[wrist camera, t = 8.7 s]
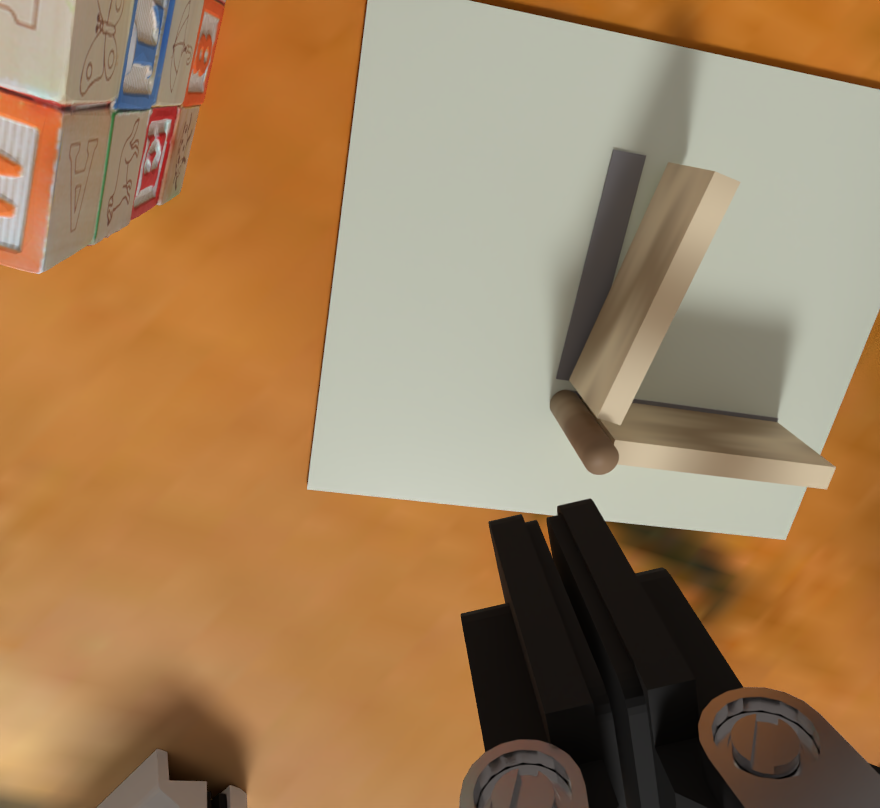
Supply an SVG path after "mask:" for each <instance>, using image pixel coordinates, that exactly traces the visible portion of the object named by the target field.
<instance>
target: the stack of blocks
mask: <svg viewBox="0 0 880 808" xmlns="http://www.w3.org/2000/svg"><path fill="white" fill-rule="evenodd" d="M225 2H226V0H0V264H1V265H4V266H8V267H11V268H15V269H18V270H22V271H27V272H32V273H37V274H40V273H42V272H44V271H46V270H49V269H50V268H52V267H53V266H55V265H56V264H58V263H60V262H61V261H63V260H65V259H66V258H68V257H70V256H72V255H73V254H75V253H76V252H78V251H79V250H81V249H82V248H84V247H85V246H91V245H95V244H96V243H98V242H100V241H101V240H102V239H103V238H104V237H105V238H108V237H109V236H110V235H111V234H113V233H114V232H118V231H119V230H120V229H122V228H123V227H125V226H127V225H128V224H129V222H130V220H132V219H134V218H136V217H138V216H140V215H141V214H143V213H145V212H146V211H148V210H149V209H151V208H153V207H154V206H155V205H162V204H164V203H166V202H168V201H169V200H171V199H172V198H174V197H175V196H176V195H178V194H179V193H180V191H181V188H182V184H183V179H184V175H185V170H186V166H187V161H188V157H189V152H190V148H191V144H192V139H193V135H194V130H195V126H196V122H197V117H198V113H199V108H200V105H201V104H202V103H203V101H204V98H205V94H206V89H207V84H208V80H209V75H210V71H211V67H212V62H213V57H214V53H215V48H216V44H217V39H218V35H219V30H220V26H221V21H222V17H223V13H224V5H225Z"/></svg>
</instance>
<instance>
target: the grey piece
mask: <svg viewBox="0 0 880 808" xmlns="http://www.w3.org/2000/svg"><path fill="white" fill-rule="evenodd" d="M97 808H247V794H246V793H245V792H244V791H243V790H242V789H240V788H237V787H235V786H232V785H230V786H228V787H227V788H226V789H225V790H224V791H223V792H221V793H219V794H218V795H217V796H215V797H214V798H213V799H212V800H211V792H208V791H207V781H170V780H169V770H168V754H167V752H166V751H163V750H160V749H156V750H155V751H154V752H153V753H152V754H151V755H150V756H149V757H148V758H147V759H146V760H145V761H144V762H143V763H142V764H141V765H140V766H139V767H138V768H137V769H136V770H135V771H134V772H133V773H132V774H131V775H130V776H129V777H127V778H126V779H125V780H124V781H123V782H122V783H121V784H120V785H119V786H118V787H117V788H116V789H115V790H114V791H113V792H112V793H111V794H110V795H109V796H108V797H107V798H106V799H105V800H104V801H103V802H102V803H101V804H100V805H99V806H98V807H97Z"/></svg>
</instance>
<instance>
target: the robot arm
mask: <svg viewBox="0 0 880 808" xmlns="http://www.w3.org/2000/svg"><path fill="white" fill-rule="evenodd" d="M547 527H548V533H549V539H550V545H551V550H552V556H553V558H552V556H551V553H550V551H549V548H548V546H547V543H546V541H545V538H544V536H543V534H542V531H541V529H540V526H539V524H538V522H537V520H534V521H530V522H525V521H524V519H523V516H522V515H521V514H520V515H515V516H511V517H507V518H502V519H498V520H493V521H489V528H490V533H491V538H492V543H493V547H494V552H495V557H496V561H497V566H498V571H499V576H500V580H501V585H502V590H503V594H504V599H505V604H501V605H497V606H493V607H488V608H484V609H480V610H475V611H471V612H467V613H462V614H461V620H462V626H463V632H464V637H465V643H466V648H467V653H468V659H469V664H470V670H471V675H472V681H473V686H474V692H475V697H476V703H477V708H478V714H479V719H480V725H481V730H482V736H483V741H484V747H485V753H484V754H483V755H482V756H481V757H480V758H479V759H478V760H477V761H476V762H475V763H474V764H472V766H471V768H470V769H469V771H468V773H467V775H466V776H465V778H464V780H463V784H462V789H461V794H460V806H459V808H880V767H877V766H875V765H872V764H869V763H868V762H867V761H866V760H865V759H864V758H863V757H862V756H861V755H860V754H859V753H858V752H857V751H856V750H855V749H854V748H853V747H852V746H851V745H850V744H849V743H848V742H847V741H846V740H845V739H844V738H843V737H842V736H841V735H840V734H839V733H838V732H837V731H836V730H835V729H834V728H833V727H832V726H831V725H830V724H829V723H828V722H827V721H826V720H825V719H824V718H823V717H822V716H821V715H820V714H819V713H818V712H817V711H816V710H814V709H813V708H812V707H811V706H809V705H808V704H807V703H805V702H804V701H802V700H800V699H798V698H796V697H794V696H792V695H790V694H787V693H785V692H781V691H777V690H773V689H769V688H758V687H744V688H743V686H742V685H741V683H740V682H739V680H738V679H737V677H736V675H735V674H734V672H733V671H732V669H731V668H730V666H729V665H728V663H727V662H726V660H725V658H724V657H723V655H722V654H721V652H720V651H719V649H718V648H717V646H716V645H715V643H714V641H713V640H712V638H711V637H710V635H709V634H708V632H707V631H706V629H705V628H704V626H703V624H702V623H701V621H700V620H699V618H698V617H697V615H696V614H695V612H694V611H693V609H692V608H691V606H690V604H689V603H688V601H687V600H686V598H685V597H684V595H683V594H682V592H681V591H680V589H679V587H678V586H677V584H676V583H675V581H674V580H673V578H672V577H671V575H670V574H669V573H668V571H667V570H666V569H664V568H658V569H653V570H649V571H645V572H640V573H636V574H635V573H634V571H633V569H632V567H631V566H630V564H629V562H628V561H627V559H626V557H625V555H624V554H623V552H622V550H621V548H620V547H619V545H618V543H617V541H616V540H615V538H614V536H613V534H612V533H611V531H610V529H609V527H608V526H607V524H606V522H605V520H604V519H603V517H602V515H601V513H600V512H599V510H598V508H597V506H596V505H595V503H594V501H593V500H592V499H591V498H589V499H585V500H581V501H576V502H572V503H568V504H563V505H559V506H557V515H556V516H552V517H547Z"/></svg>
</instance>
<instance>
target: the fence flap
mask: <svg viewBox="0 0 880 808" xmlns="http://www.w3.org/2000/svg"><path fill="white" fill-rule="evenodd" d="M739 184H740V182H739V181H737V180H735V179H732V178H730V177H727V176H725V175H723V174H720V173H718V172H716V171H711V170H706V169H701V168H696V167H691V166H686V165H680V164H675V163H670V162H668V164H667V166H666V168H665V171H664V173H663V175H662V177H661V179H660V182H659V184H658V186H657V188H656V190H655V192H654V195H653V197H652V199H651V201H650V203H649V206H648V208H647V210H646V212H645V214H644V217H643V219H642V221H641V223H640V225H639V228H638V230H637V232H636V234H635V236H634V239H633V241H632V243H631V245H630V247H629V250H628V252H627V254H626V256H625V258H624V260H623V263H622V265H621V267H620V269H619V271H618V274H617V276H616V278H615V280H614V282H613V285H612V287H611V289H610V291H609V293H608V296H607V298H606V300H605V302H604V304H603V307H602V309H601V311H600V313H599V315H598V318H597V320H596V322H595V324H594V326H593V328H592V331H591V333H590V335H589V337H588V339H587V342H586V344H585V346H584V348H583V350H582V353H581V355H580V357H579V359H578V361H577V364H576V366H575V368H574V370H573V372H572V375H571V377H570V379H569V381H570V382H571V384H572V385H573V386H574V388H575V389H576V390H577V392H578V393H579V394H580V396H581V397H582V398H583V400H584V401H585V402H586V404H587V405H588V406H589V408H590V409H591V410H592V412H593V413H594V414H595V416H596V417H597V418H599V419H602V420H605V421H608V422H611V423H615V424H618V425H621V424H622V422H623V420H624V418H625V415H626V413H627V411H628V409H629V407H630V405H631V403H632V401H633V399H634V397H635V395H636V393H637V391H638V389H639V387H640V385H641V383H642V381H643V379H644V377H645V375H646V373H647V371H648V369H649V367H650V365H651V363H652V361H653V359H654V357H655V355H656V353H657V351H658V349H659V347H660V345H661V343H662V340H663V338H664V336H665V334H666V332H667V330H668V328H669V326H670V324H671V322H672V320H673V318H674V316H675V314H676V312H677V310H678V308H679V306H680V304H681V302H682V300H683V298H684V296H685V294H686V292H687V290H688V288H689V286H690V284H691V282H692V280H693V278H694V276H695V274H696V272H697V270H698V268H699V265H700V263H701V261H702V259H703V257H704V255H705V253H706V251H707V249H708V247H709V245H710V243H711V241H712V239H713V237H714V235H715V233H716V231H717V229H718V227H719V225H720V223H721V221H722V219H723V217H724V215H725V213H726V211H727V209H728V207H729V205H730V203H731V201H732V199H733V197H734V195H735V192H736V190H737V188H738V186H739Z"/></svg>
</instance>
